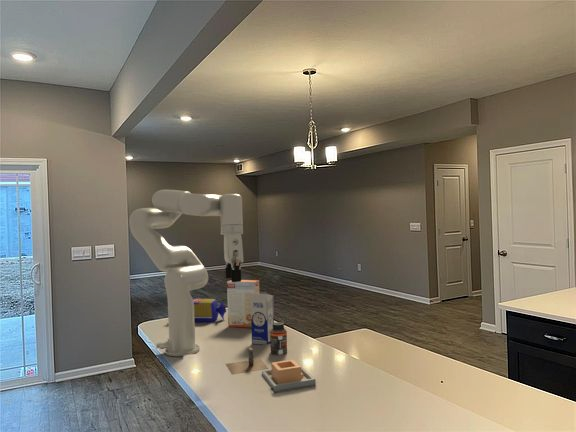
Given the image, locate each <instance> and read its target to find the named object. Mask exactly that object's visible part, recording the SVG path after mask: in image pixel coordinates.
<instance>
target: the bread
mask: <svg viewBox="0 0 576 432" xmlns="http://www.w3.org/2000/svg"><path fill="white" fill-rule="evenodd" d="M192 299H193V301H194V320H195V323H213V322H215V321H216V320H217V319H218V317H219V316H220V317H221V318H222V320H223V321H225V317H224V316H225V313H226V312H227V309H226V305H224V302H225V299H223V300H222V302H221V303H220V305H219V306H218V300H217V299H216V298H215V299H214V298H192Z"/></svg>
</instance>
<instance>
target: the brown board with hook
mask: <svg viewBox="0 0 576 432" xmlns="http://www.w3.org/2000/svg"><path fill="white" fill-rule="evenodd" d="M247 350H248V353H247V354H248V360H243V361H237V362H235V361H234V362H230V363H229V362H228V363H225V365H226V367H227V369H228V370H229V372H230V374H231V375H235V374H236V375H237V374H243V373H250V372H256V371H264V370H270V369H269V367H268V366H267V365H266V363H265V362H264V361H263V360H262V359H261V358H256V359H255V358H254V349H253V348H252V346H250V347H247Z"/></svg>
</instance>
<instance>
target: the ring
mask: <svg viewBox="0 0 576 432" xmlns="http://www.w3.org/2000/svg"><path fill="white" fill-rule="evenodd" d="M270 365H271V367H270V369H272V374H271V378H272V379H273V381H274V382H275V383H277V384H283V383H289V382H294V381H300V380H302V378H304V374H303V373H302V372H301V366H302V365H301V366H300V364H299V363H297V362H296V361H295V360H294V359H288V360H280V361H274V362H273V361H272V362H271V363H270Z"/></svg>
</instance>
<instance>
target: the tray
mask: <svg viewBox="0 0 576 432" xmlns="http://www.w3.org/2000/svg"><path fill="white" fill-rule="evenodd" d="M299 365H300V364H299ZM300 366H301V373H302V374H303V376H305V377H306V378H307V379H301V380H300V381H294V382H289V383H283V384H278V383H277V384H276V382H275V381H274V379H273V378H272V377H270V375H272V368H270V369H264V370H261V375H262V376H263V377H264V379H265V380H266V381H267V383H269V385H270V386H271V388H270V390H271V391H272V392H273V393H274V394H277V393H284V392H289V391H295V390H301V389H307V388H311V387H317V386H316V384H317V382H316V378H315V377H314V376H313V375H311V373H309V372H308V371H307V370H306V369H305V368H304V367H303V366H302V365H300Z"/></svg>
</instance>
